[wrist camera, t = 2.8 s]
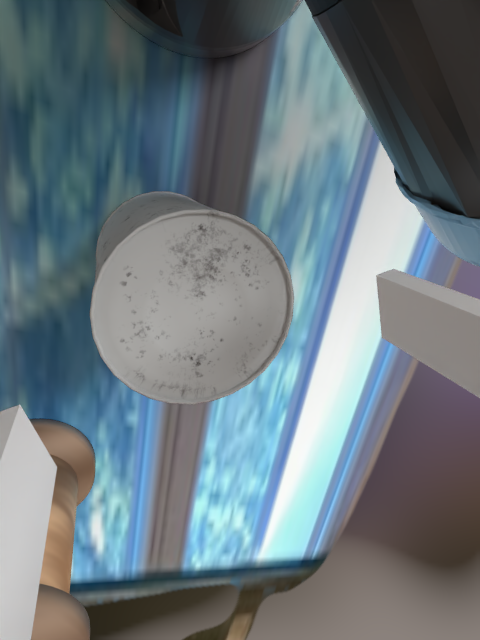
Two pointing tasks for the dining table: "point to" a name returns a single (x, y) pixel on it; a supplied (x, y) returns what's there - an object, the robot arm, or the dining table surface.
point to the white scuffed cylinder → (187, 299)
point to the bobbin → (62, 533)
